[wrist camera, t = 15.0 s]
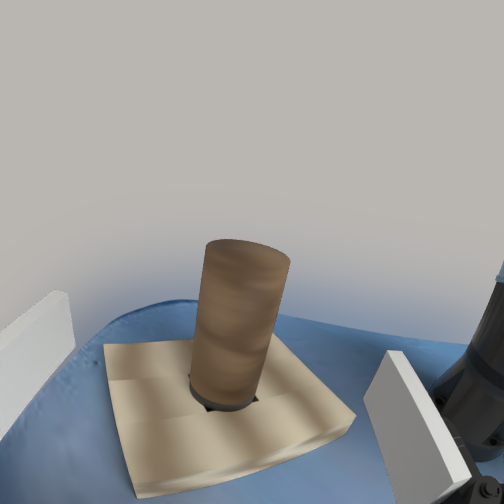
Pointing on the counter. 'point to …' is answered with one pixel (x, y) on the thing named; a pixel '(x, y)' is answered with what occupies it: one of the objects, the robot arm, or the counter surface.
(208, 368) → the walnut peg
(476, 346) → the robot arm
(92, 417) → the counter surface
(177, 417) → the birch board
